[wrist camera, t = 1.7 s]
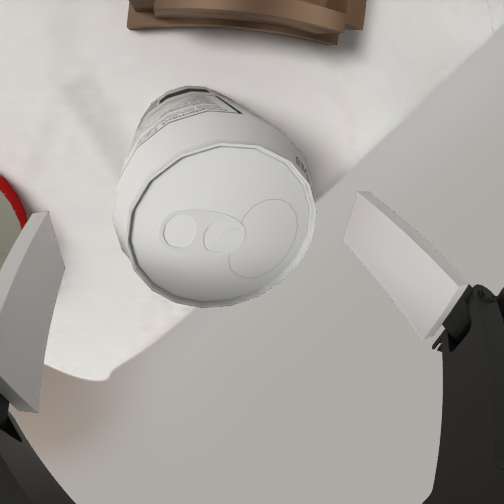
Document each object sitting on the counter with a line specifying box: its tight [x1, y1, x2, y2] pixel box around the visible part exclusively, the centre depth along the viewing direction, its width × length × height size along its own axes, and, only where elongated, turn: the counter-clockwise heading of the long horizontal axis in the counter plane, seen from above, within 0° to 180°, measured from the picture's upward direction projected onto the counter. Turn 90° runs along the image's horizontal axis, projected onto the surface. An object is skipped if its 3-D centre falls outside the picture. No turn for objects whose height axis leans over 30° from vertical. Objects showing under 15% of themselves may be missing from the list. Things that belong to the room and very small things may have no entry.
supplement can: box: [113, 86, 317, 308], centre depth 16 cm, size 8×8×15 cm
